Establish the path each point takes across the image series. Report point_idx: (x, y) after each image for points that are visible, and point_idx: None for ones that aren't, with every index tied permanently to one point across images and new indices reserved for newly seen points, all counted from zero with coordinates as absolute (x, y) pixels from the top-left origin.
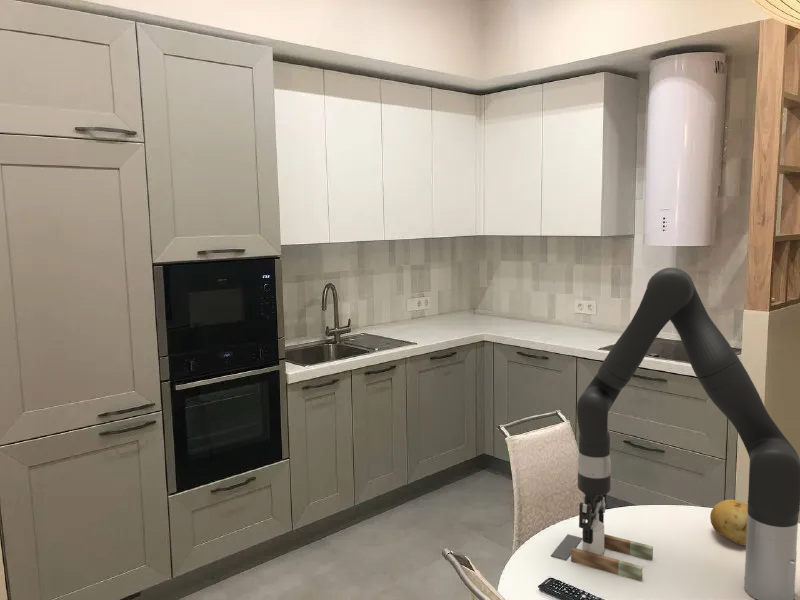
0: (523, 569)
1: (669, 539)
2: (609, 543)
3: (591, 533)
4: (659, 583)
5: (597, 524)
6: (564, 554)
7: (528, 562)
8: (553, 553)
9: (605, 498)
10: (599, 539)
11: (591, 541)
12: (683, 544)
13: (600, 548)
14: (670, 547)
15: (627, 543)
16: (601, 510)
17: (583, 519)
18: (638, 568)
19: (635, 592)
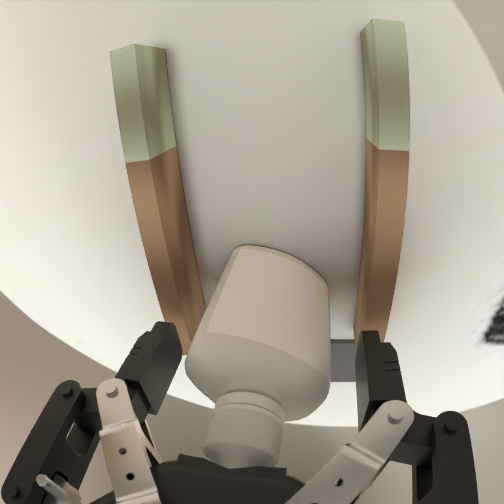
0: (457, 396)
1: (3, 87)
2: (180, 248)
3: (386, 378)
4: None
5: (265, 385)
6: (341, 355)
7: (420, 401)
8: (352, 379)
9: (55, 441)
10: (276, 306)
11: (378, 339)
12: (7, 39)
13: (274, 271)
14: (38, 53)
15: (155, 171)
16: (135, 412)
17: (377, 476)
18: (404, 37)
19: (476, 49)
